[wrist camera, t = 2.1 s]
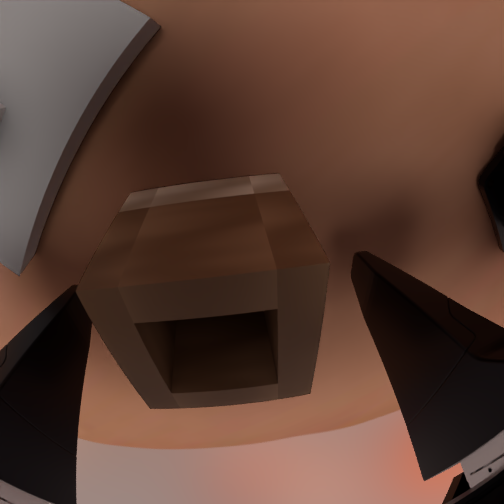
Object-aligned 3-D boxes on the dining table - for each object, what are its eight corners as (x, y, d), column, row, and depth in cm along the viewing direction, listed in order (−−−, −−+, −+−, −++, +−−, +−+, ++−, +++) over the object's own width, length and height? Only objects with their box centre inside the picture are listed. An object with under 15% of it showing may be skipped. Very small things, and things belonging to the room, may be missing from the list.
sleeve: (279, 173, 9) (329, 262, 5) (281, 289, 12) (310, 393, 8) (130, 192, 9) (75, 291, 5) (163, 302, 12) (150, 408, 8)
